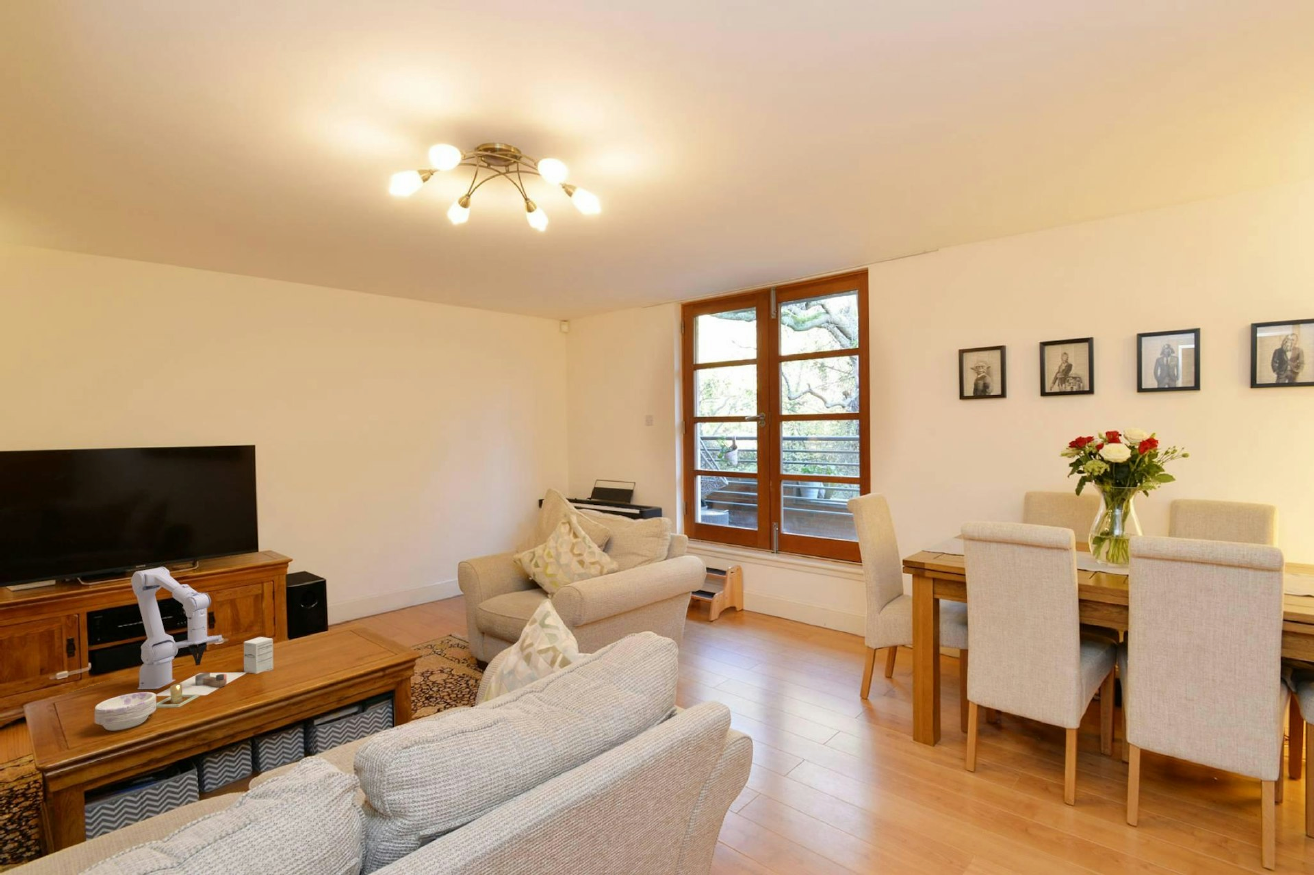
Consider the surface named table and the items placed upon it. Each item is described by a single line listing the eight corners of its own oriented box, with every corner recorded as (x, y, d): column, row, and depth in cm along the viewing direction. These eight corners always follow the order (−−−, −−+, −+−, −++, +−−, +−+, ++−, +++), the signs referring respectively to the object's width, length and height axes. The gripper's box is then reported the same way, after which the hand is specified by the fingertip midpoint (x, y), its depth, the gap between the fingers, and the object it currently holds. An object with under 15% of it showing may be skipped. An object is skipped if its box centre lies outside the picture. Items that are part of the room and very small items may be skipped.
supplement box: (243, 673, 245) (242, 641, 245) (261, 667, 252) (260, 636, 252) (256, 676, 242) (255, 643, 242) (274, 669, 249) (273, 638, 249)
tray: (152, 710, 212) (152, 705, 212) (173, 698, 221) (173, 694, 221) (178, 709, 212) (178, 705, 212) (199, 698, 221) (199, 694, 221)
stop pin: (168, 704, 215) (167, 687, 215) (176, 700, 218) (175, 683, 218) (177, 704, 215) (176, 686, 215) (184, 700, 218) (184, 683, 218)
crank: (192, 684, 232) (192, 673, 232) (204, 680, 236) (204, 669, 236) (216, 688, 227) (216, 677, 227) (228, 684, 231) (228, 673, 231)
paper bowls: (154, 710, 212) (154, 687, 212) (158, 724, 201) (158, 699, 201) (94, 724, 201) (93, 700, 202) (95, 740, 190) (94, 714, 190)
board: (153, 698, 222) (153, 695, 222) (199, 675, 244) (199, 673, 244) (206, 697, 222) (206, 695, 222) (247, 674, 244) (247, 672, 244)
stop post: (217, 685, 231) (217, 676, 231) (221, 682, 234) (221, 674, 234) (223, 685, 231) (223, 676, 231) (228, 682, 234) (228, 674, 234)
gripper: (172, 634, 221) (173, 672, 221) (222, 626, 230) (222, 662, 230) (172, 629, 227) (172, 667, 227) (220, 622, 236) (221, 657, 236)
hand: (197, 664), depth 229 cm, fingers closed
